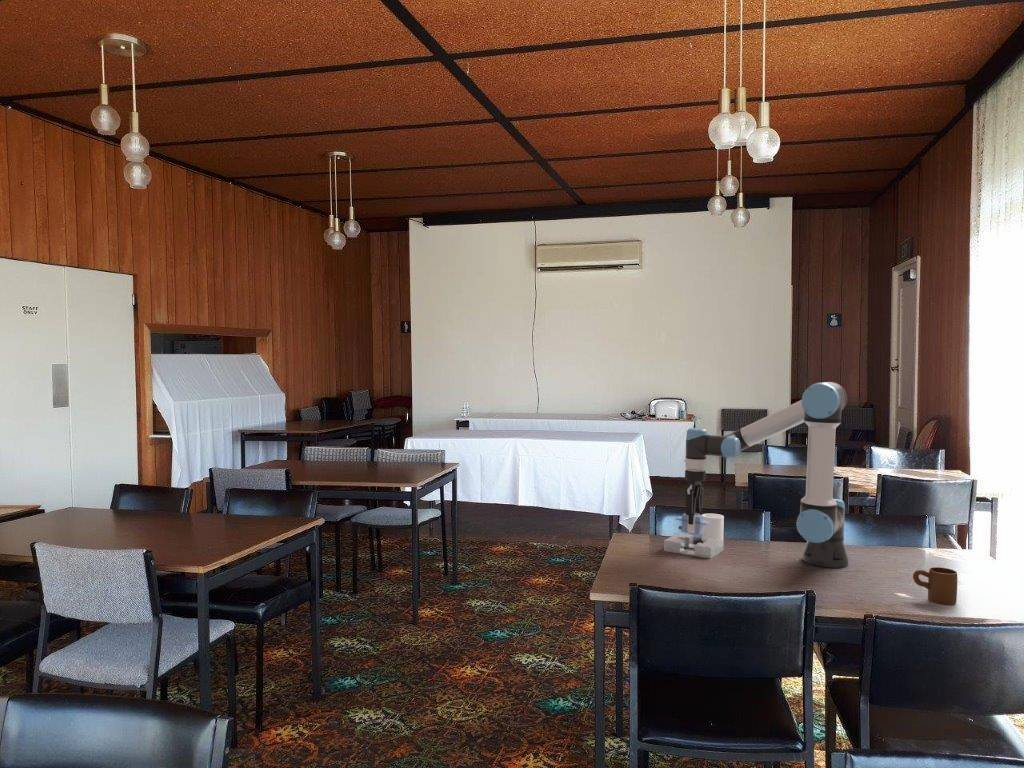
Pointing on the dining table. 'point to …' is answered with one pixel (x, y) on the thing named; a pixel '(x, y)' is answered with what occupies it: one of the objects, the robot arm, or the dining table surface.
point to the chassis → (693, 546)
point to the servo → (698, 523)
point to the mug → (939, 584)
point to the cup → (713, 526)
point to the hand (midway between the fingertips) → (693, 531)
